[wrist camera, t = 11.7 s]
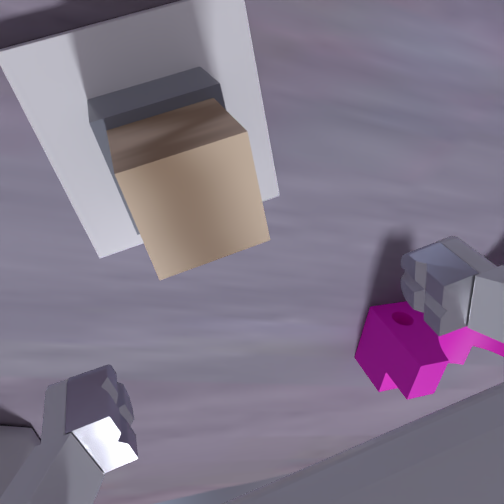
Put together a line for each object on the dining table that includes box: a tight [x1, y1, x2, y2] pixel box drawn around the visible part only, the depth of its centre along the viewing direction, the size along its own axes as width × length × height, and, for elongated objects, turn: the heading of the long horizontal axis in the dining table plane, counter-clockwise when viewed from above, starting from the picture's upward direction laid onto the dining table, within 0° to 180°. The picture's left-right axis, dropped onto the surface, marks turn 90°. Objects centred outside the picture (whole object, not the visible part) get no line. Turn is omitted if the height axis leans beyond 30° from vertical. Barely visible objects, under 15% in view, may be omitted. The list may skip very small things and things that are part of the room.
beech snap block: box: [107, 98, 270, 280], centre depth 19 cm, size 5×5×5 cm
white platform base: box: [0, 0, 280, 258], centre depth 23 cm, size 12×12×5 cm
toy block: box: [355, 301, 504, 399], centre depth 41 cm, size 15×6×8 cm, turn 84°
